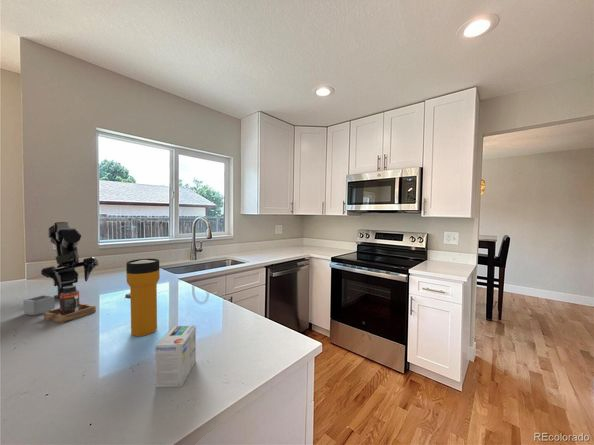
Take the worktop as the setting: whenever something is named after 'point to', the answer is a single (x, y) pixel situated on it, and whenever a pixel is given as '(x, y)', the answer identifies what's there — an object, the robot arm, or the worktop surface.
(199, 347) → the worktop surface
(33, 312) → the grey open square bin
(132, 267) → the flashlight
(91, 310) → the tray
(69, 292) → the supplement bottle
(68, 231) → the robot arm
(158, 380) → the light bulb box
